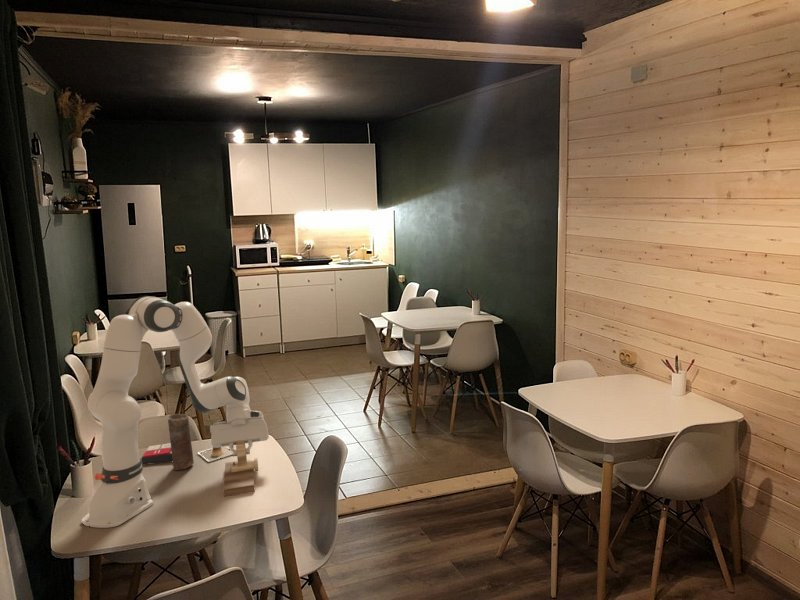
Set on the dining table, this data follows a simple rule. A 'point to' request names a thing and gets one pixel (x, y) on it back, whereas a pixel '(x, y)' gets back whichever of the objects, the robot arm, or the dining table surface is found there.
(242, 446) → the stacked wooden blocks
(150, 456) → the red and white box
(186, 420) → the candle
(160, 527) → the dining table surface
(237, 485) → the board
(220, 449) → the dessert
